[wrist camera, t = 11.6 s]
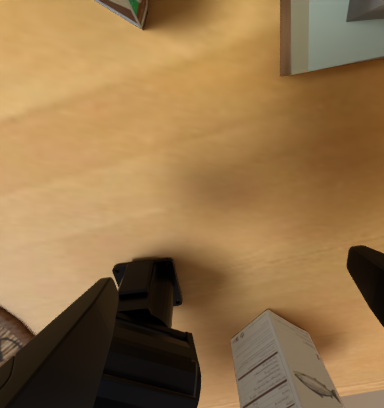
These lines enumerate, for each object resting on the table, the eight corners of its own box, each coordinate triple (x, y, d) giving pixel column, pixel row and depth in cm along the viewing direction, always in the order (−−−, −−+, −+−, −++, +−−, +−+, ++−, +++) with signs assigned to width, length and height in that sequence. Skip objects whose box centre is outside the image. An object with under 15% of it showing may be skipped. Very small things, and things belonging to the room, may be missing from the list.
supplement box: (309, 330, 30) (383, 478, 18) (268, 359, 32) (310, 505, 21) (267, 306, 28) (321, 453, 16) (227, 339, 30) (249, 486, 19)
